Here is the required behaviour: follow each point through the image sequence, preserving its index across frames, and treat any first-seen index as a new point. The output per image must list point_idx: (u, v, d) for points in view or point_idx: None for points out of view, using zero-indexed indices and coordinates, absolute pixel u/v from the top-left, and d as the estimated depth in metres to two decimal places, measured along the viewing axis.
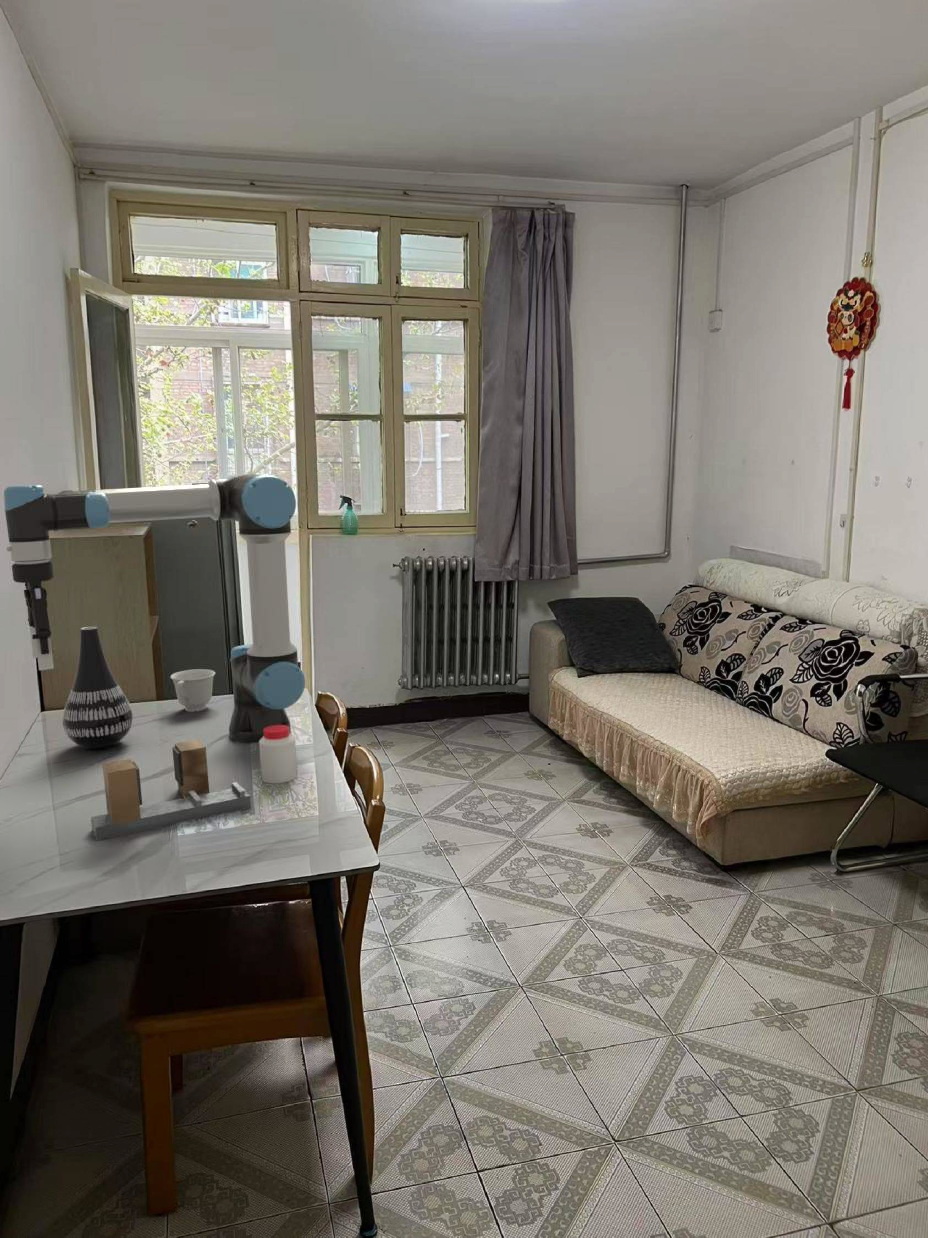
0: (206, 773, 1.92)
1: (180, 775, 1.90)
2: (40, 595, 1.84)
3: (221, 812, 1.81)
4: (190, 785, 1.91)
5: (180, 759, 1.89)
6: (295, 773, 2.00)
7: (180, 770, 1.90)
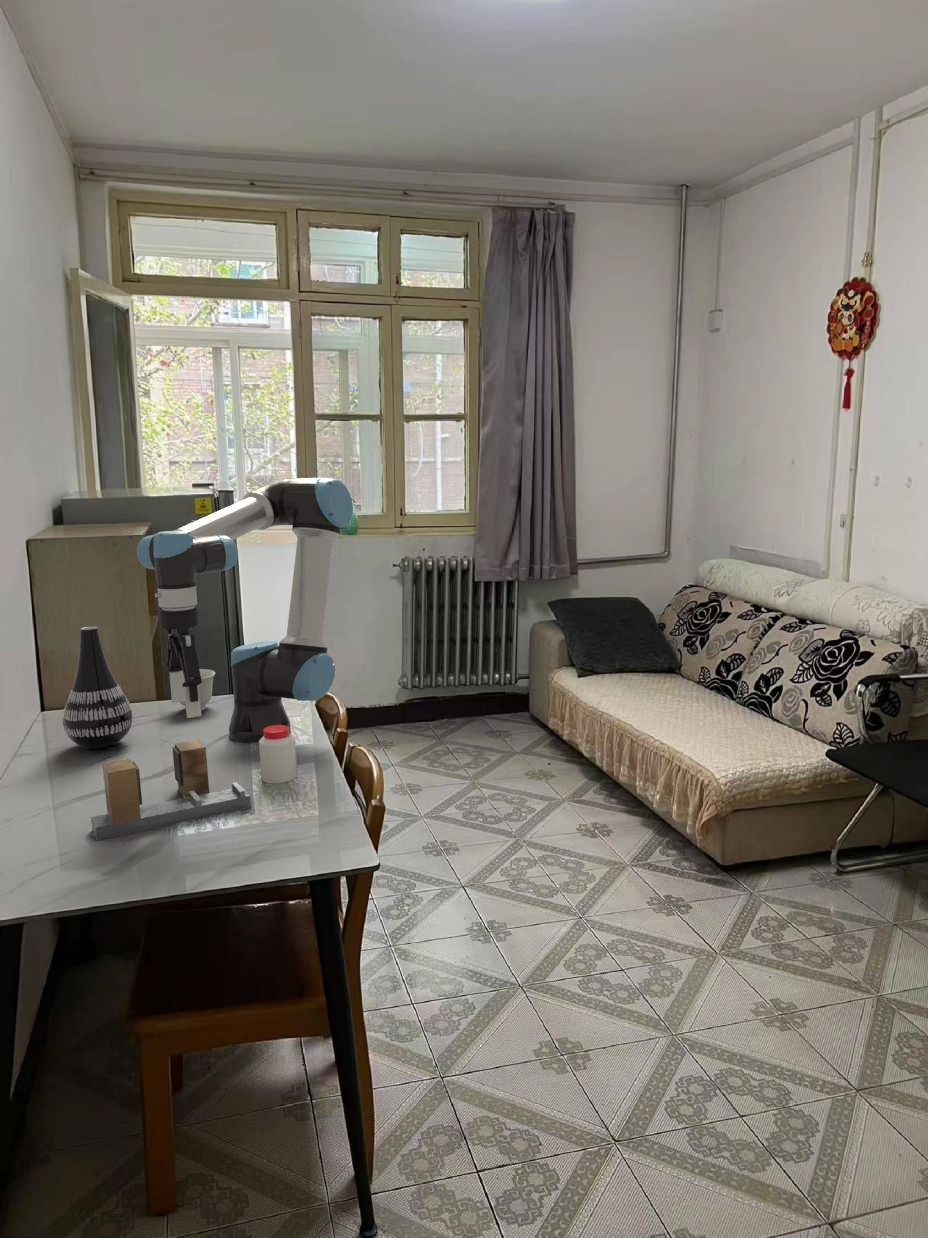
0: (206, 773, 1.92)
1: (180, 775, 1.90)
2: (190, 642, 1.82)
3: (221, 812, 1.81)
4: (190, 785, 1.91)
5: (180, 759, 1.89)
6: (295, 773, 2.00)
7: (180, 770, 1.90)
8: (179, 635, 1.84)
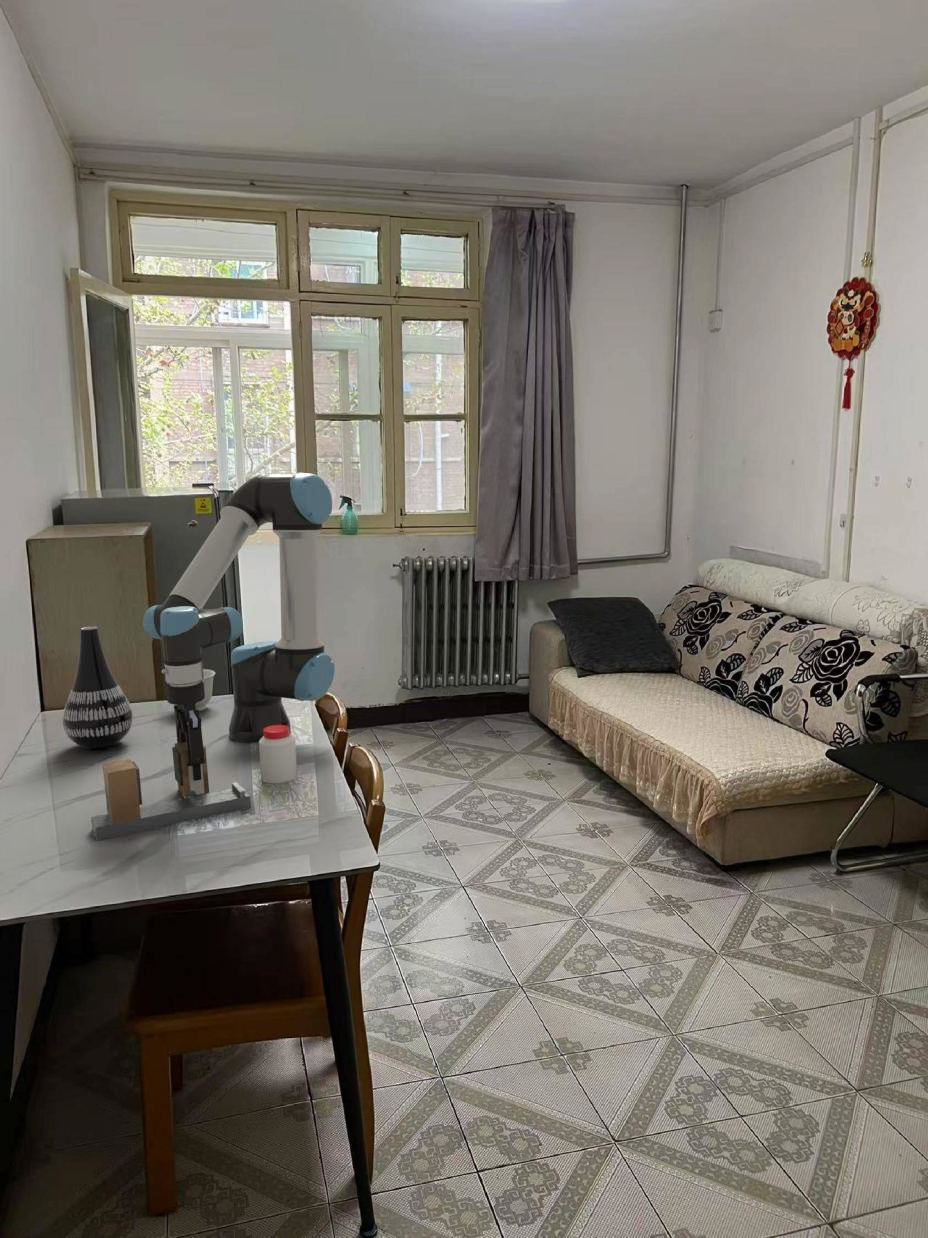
0: (206, 773, 1.92)
1: (180, 775, 1.90)
2: (197, 725, 1.86)
3: (221, 812, 1.81)
4: None
5: (180, 759, 1.89)
6: (295, 773, 2.00)
7: (180, 770, 1.90)
8: (186, 712, 1.87)
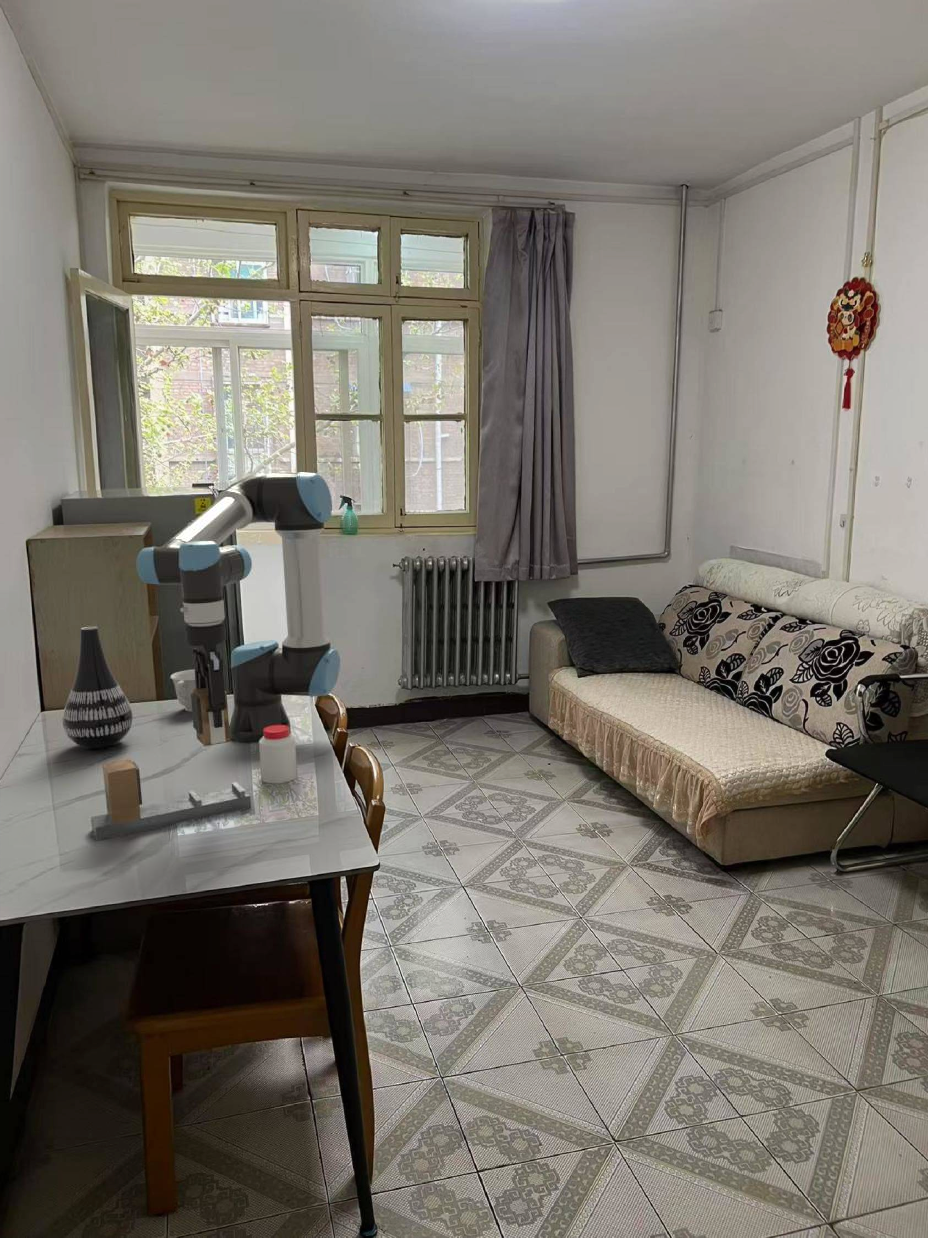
0: (227, 720, 1.79)
1: (199, 722, 1.77)
2: (218, 667, 1.73)
3: (221, 812, 1.81)
4: None
5: (199, 704, 1.76)
6: (295, 773, 2.00)
7: (199, 716, 1.77)
8: (206, 653, 1.74)
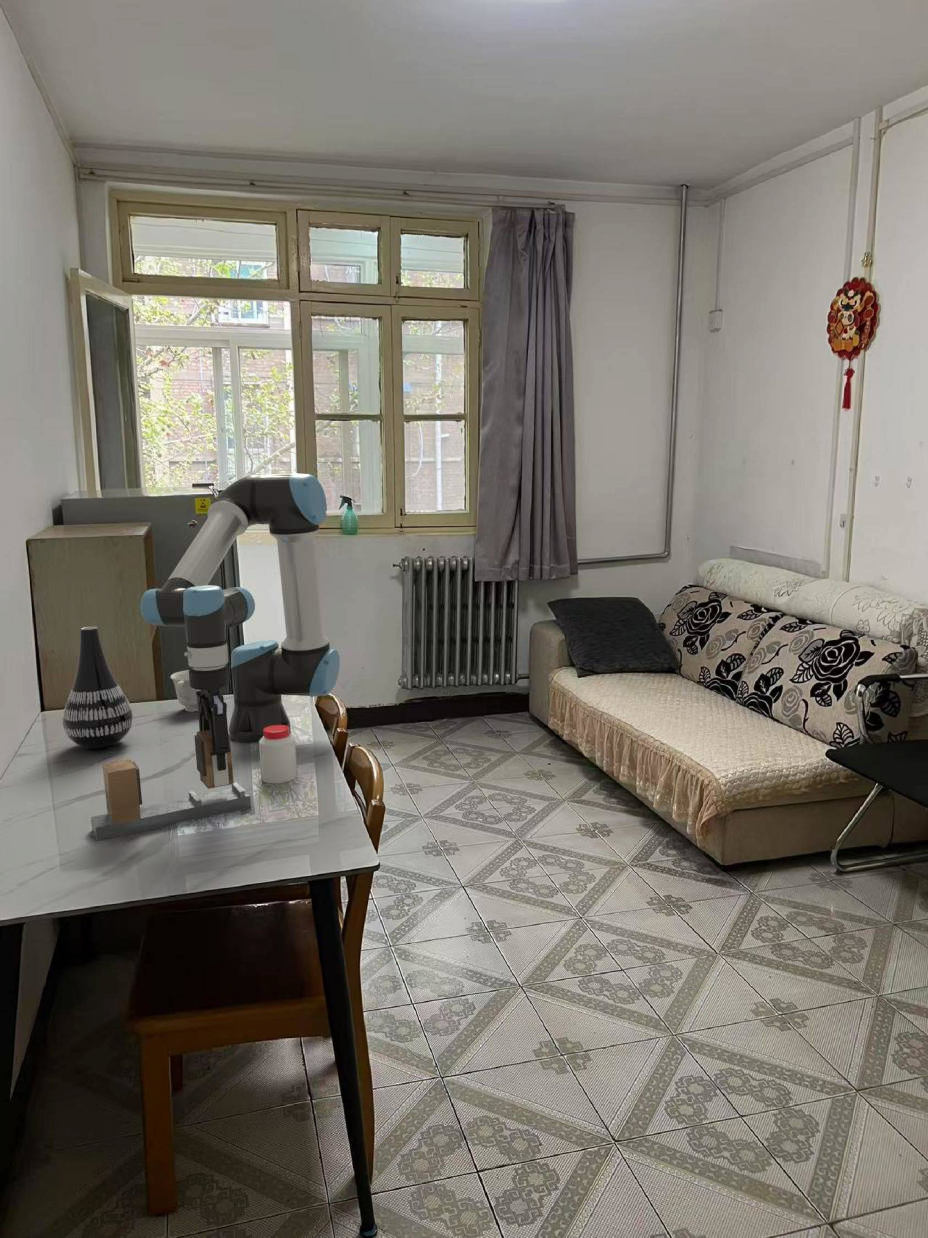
0: (230, 763, 1.80)
1: (203, 765, 1.78)
2: (222, 711, 1.75)
3: (221, 812, 1.81)
4: (213, 776, 1.79)
5: (203, 748, 1.78)
6: (295, 773, 2.00)
7: (203, 759, 1.78)
8: (210, 697, 1.76)
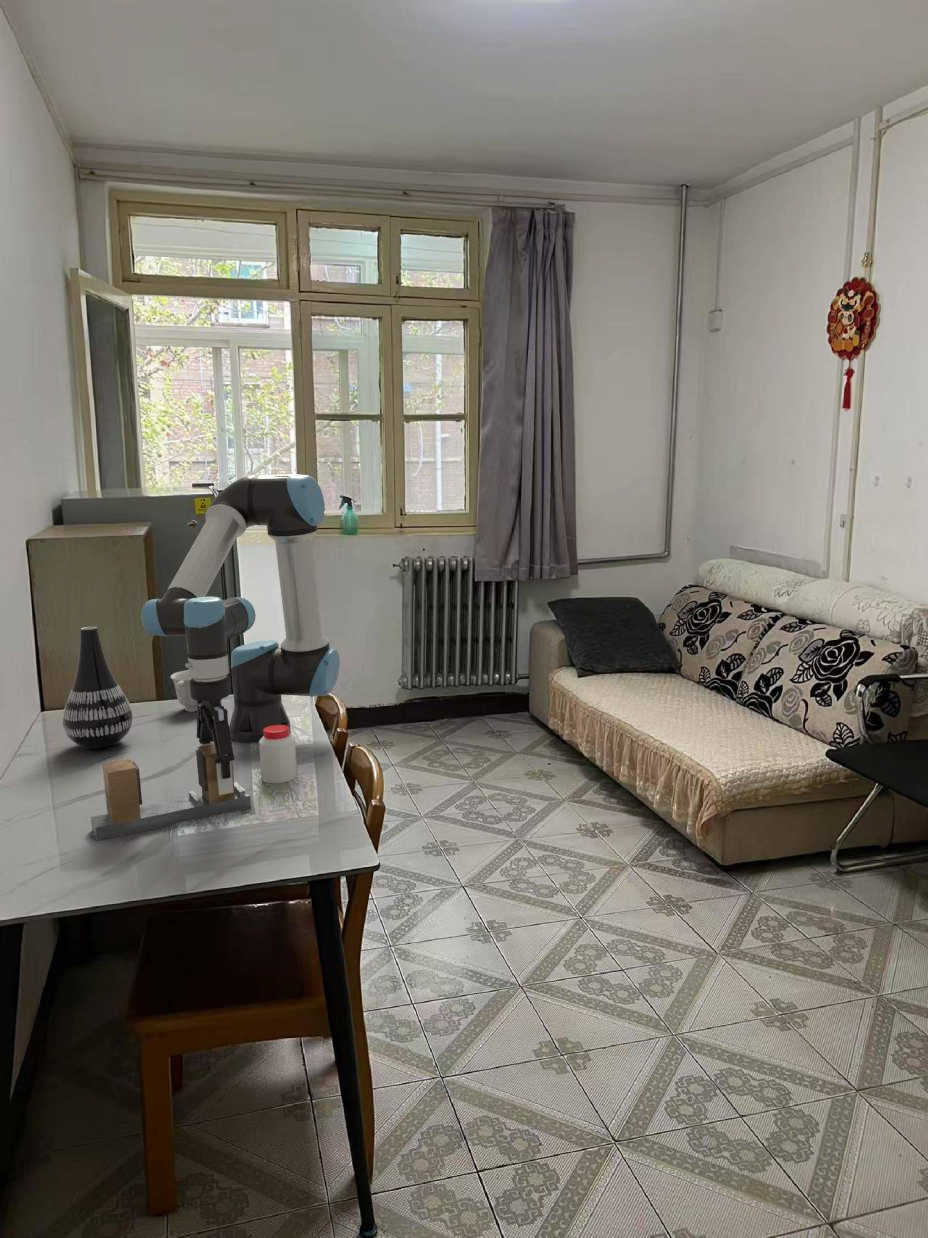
0: None
1: (205, 780, 1.79)
2: (223, 717, 1.75)
3: (221, 812, 1.81)
4: (215, 791, 1.80)
5: (205, 763, 1.78)
6: (295, 773, 2.00)
7: (205, 775, 1.79)
8: (211, 707, 1.76)
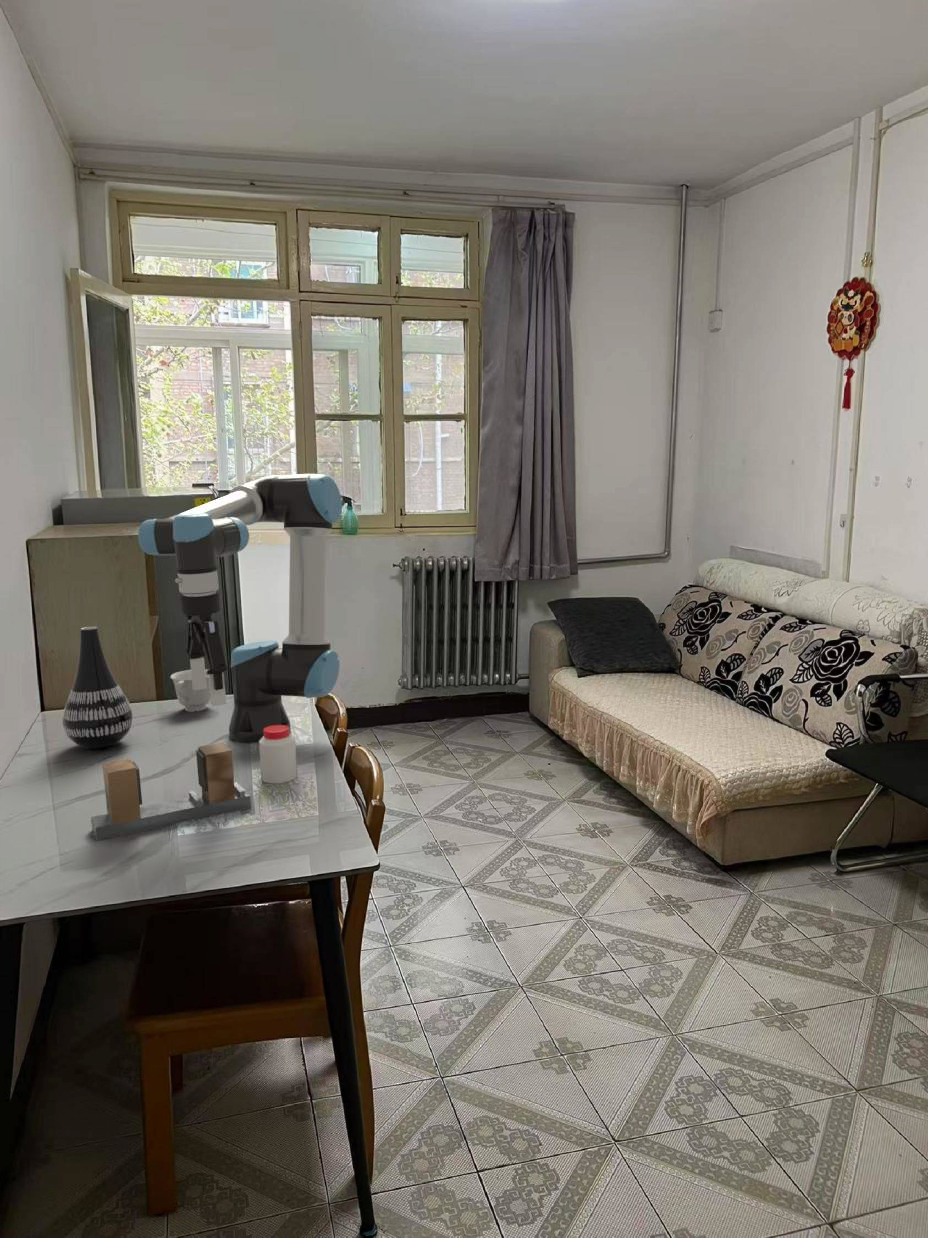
0: (232, 778, 1.81)
1: (205, 780, 1.79)
2: (214, 629, 1.77)
3: (221, 812, 1.81)
4: (215, 791, 1.80)
5: (205, 763, 1.78)
6: (295, 773, 2.00)
7: (205, 775, 1.79)
8: (202, 621, 1.79)
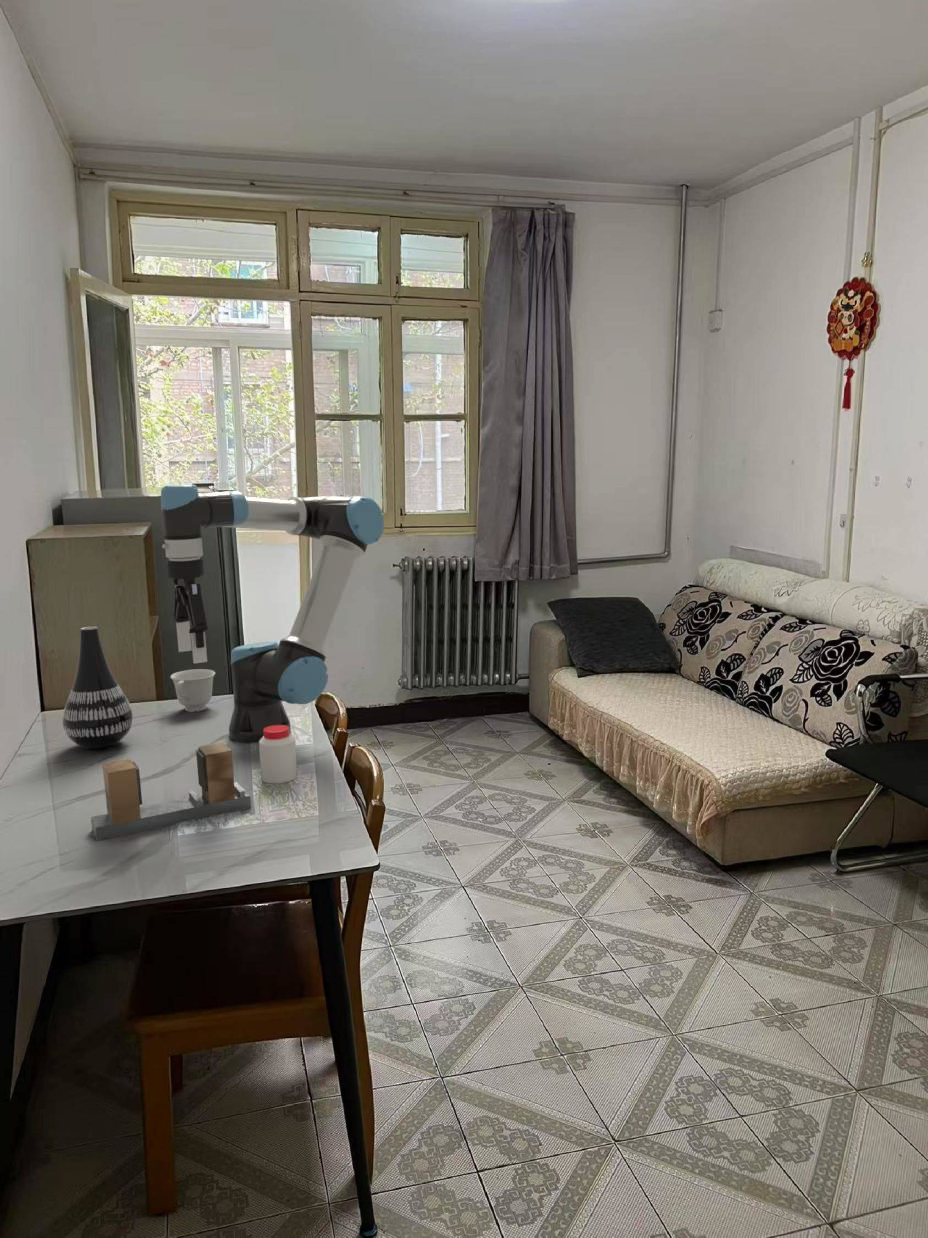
0: (232, 778, 1.81)
1: (205, 780, 1.79)
2: (196, 591, 1.90)
3: (221, 812, 1.81)
4: (215, 791, 1.80)
5: (205, 763, 1.78)
6: (295, 773, 2.00)
7: (205, 775, 1.79)
8: (186, 584, 1.92)
